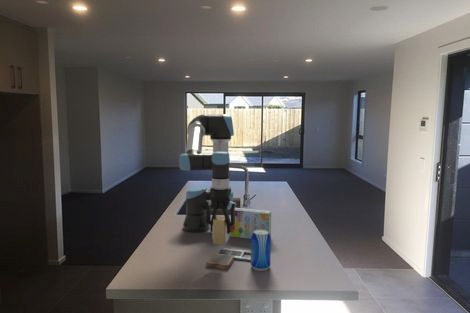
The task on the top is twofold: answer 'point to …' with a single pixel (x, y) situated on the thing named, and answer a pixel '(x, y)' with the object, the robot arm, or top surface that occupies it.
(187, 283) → the top surface
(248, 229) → the snack box
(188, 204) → the robot arm
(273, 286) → the top surface
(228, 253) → the grey slotted plate
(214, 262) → the pad
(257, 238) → the beer can
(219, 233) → the brass rectangular block
